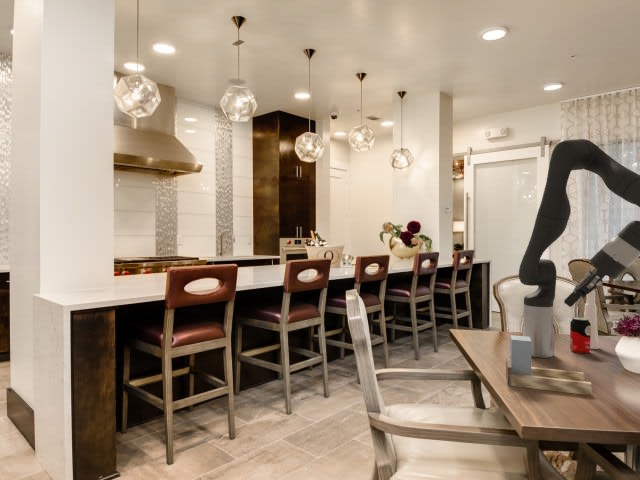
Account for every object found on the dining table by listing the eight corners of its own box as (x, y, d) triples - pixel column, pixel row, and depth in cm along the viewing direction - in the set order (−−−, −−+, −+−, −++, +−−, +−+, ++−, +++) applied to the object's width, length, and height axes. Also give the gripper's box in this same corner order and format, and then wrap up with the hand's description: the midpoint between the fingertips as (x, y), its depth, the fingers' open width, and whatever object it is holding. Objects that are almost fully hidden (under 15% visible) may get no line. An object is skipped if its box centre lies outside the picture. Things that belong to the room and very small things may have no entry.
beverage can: (573, 353, 156) (573, 319, 156) (567, 348, 162) (568, 316, 162) (592, 354, 154) (593, 320, 154) (586, 350, 160) (587, 317, 160)
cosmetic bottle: (594, 349, 161) (595, 289, 161) (577, 346, 166) (578, 288, 166) (602, 347, 164) (603, 289, 164) (585, 344, 169) (586, 287, 169)
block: (528, 374, 126) (529, 336, 126) (531, 381, 121) (531, 341, 121) (509, 372, 128) (510, 335, 128) (511, 379, 122) (511, 339, 122)
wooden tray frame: (583, 382, 123) (583, 365, 123) (591, 395, 114) (591, 376, 114) (505, 374, 130) (506, 357, 130) (507, 385, 121) (507, 367, 121)
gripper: (601, 245, 122) (555, 290, 129) (603, 250, 111) (554, 299, 117) (626, 263, 119) (578, 308, 126) (631, 270, 108) (579, 319, 115)
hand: (567, 304), depth 122 cm, fingers closed
